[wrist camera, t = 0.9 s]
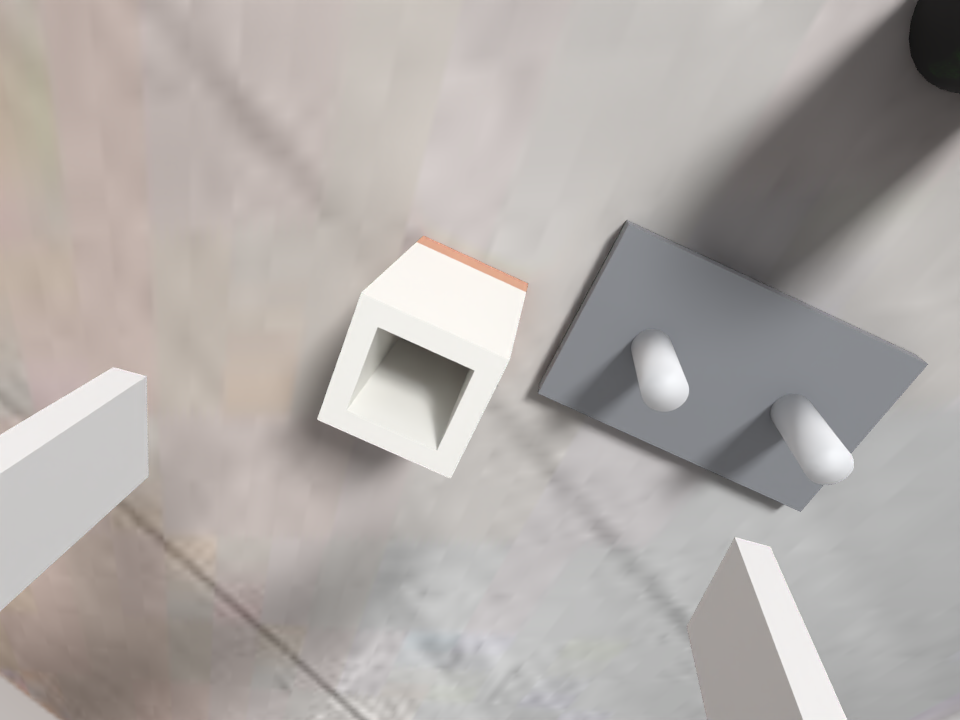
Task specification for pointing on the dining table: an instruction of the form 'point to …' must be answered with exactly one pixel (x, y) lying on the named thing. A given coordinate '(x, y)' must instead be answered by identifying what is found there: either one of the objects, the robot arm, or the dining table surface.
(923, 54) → the cup
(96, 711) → the dining table surface
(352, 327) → the sleeve
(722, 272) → the grey board with pegs
